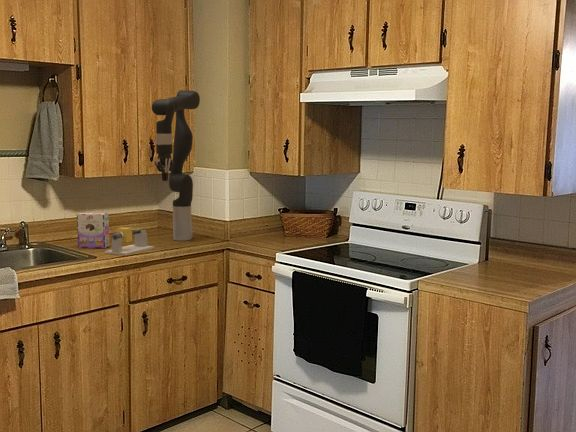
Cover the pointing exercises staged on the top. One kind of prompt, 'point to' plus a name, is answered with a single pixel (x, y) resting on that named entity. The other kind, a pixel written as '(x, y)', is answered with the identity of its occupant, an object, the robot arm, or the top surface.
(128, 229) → the marker sleeve
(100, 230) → the candy box
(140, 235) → the stand
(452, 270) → the top surface
